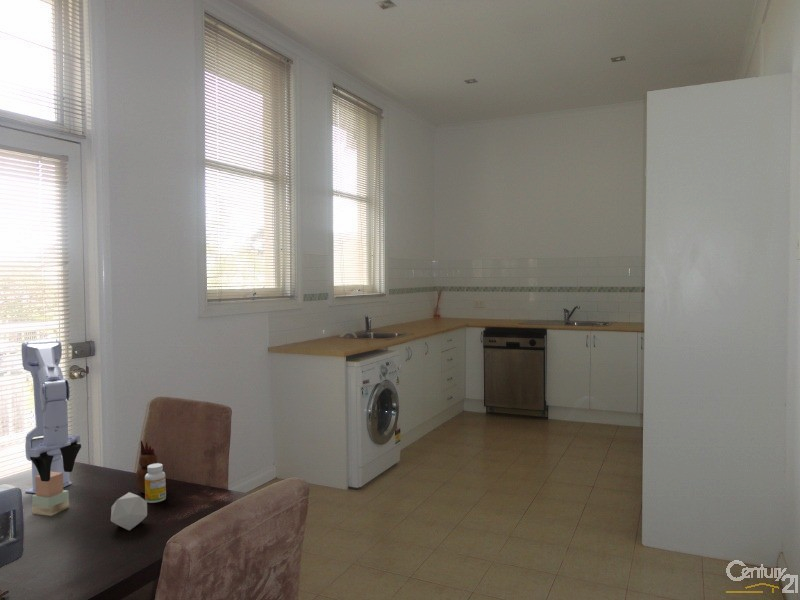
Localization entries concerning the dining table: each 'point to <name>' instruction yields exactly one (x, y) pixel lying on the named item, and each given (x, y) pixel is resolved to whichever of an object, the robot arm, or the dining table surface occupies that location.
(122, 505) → the die
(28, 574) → the dining table surface
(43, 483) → the terracotta block
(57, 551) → the dining table surface
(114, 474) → the dining table surface
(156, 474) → the supplement bottle
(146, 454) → the wooden figurine
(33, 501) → the tower top block
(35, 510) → the tower base block
